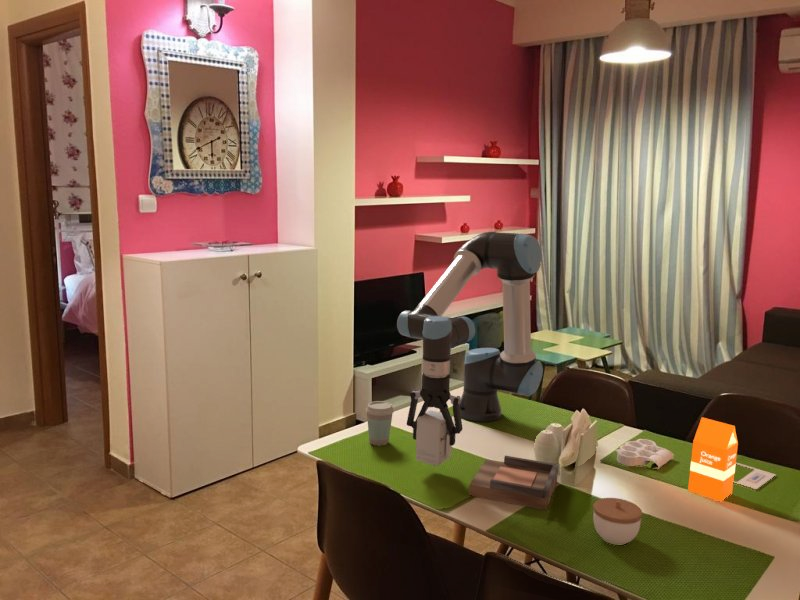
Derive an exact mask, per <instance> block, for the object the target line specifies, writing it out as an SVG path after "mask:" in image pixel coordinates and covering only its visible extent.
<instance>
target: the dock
mask: <svg viewBox="0 0 800 600" xmlns="http://www.w3.org/2000/svg"><path fill="white" fill-rule="evenodd" d="M503 459H504V461H498V460H493V459H486V458H485V460H484V461H483V463H482V465H480V468H479V469H478V470H477V472H476V474H475V475H474V477H473V478H472V480H471V482H470V483H469V484H468V485H469V486H468V487H469V489H468V496H470V495H472V496H471V497H476V498H482V499H487V500H491V501H496V502H502V503H508V504H511V505H517V506H522V507H529V508H532V509H533V508H534V509H538V510H543V509H546V510H545V511H547V510H548V507H549V505H550V501H551V499H552V497H553V494H552V493H554V491H555V489H556V485H557V483H558V472H559V471H558V470H559V464H558V463H554V462H551V463H550V462H546V461H541V460H540V461H539V460H535V459H529V458H522V457H517V456H511V455H504V458H503ZM551 496H552V497H551ZM548 504H549V505H548Z"/></svg>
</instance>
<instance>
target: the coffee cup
mask: <svg viewBox="0 0 800 600" xmlns="http://www.w3.org/2000/svg"><path fill="white" fill-rule="evenodd" d="M365 413H366V418H367V427H368V431H367V432H368V441H369V444H370V443H371V444H370V445H372V444H373V446H376V445H377V446H376V447H381V445H383V446H386V445H388V444H389V439H390V433H391V427H392V422H393V421H392V420H393V414H394V407H393V404H392V403H391V402H388V401H381V400H376V401H370V402H369V403H367V405H366V408H365ZM387 443H388V444H387Z"/></svg>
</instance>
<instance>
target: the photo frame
mask: <svg viewBox="0 0 800 600" xmlns="http://www.w3.org/2000/svg"><path fill="white" fill-rule="evenodd" d="M736 464H737V465H736V466H738V465H740V466H739V467H742V466H743V468H745V467H747V468H746V469H748V468H750V469H749V470H751V469H753V470H752V471H750V472H749V473H748V474H746V475H745V476H744V477H742V478H741V479H739V480H738V481H735V480H734V481H733V482H734V483H737V484H741V485H744V486H747V487H751V488H753V489H758V488H759V487H761V486H762V485H763V484H765V483H766V482H767V481H769V480H770V479H771V480H773V479H774V478H775V477H776V476H777V473H776V474H775V473H772V472H769V471H765V470H762V469H759V468H756V467H754V466H750V465H746V464H743V463H739V462H737V461H736ZM774 476H775V477H774ZM773 477H774V478H773ZM772 478H773V479H772ZM771 480H770V481H771ZM770 481H769V482H770ZM767 483H768V482H767ZM767 483H766V484H767ZM737 484H736V485H737ZM766 484H765V485H766ZM763 486H764V485H763ZM763 486H762V487H763ZM762 487H761V488H762ZM759 489H760V488H759ZM759 489H758V490H759Z"/></svg>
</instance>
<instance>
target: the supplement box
mask: <svg viewBox="0 0 800 600" xmlns="http://www.w3.org/2000/svg"><path fill="white" fill-rule="evenodd" d="M450 415H451V418H452V419H453V414H450ZM417 417H418V416H417ZM417 417H416V419H417V440H415V460H416V461H417V462H421V463H424V464H429V465H430V466H431V465H432V466H436V467H439V466H440V465H441V464H443V463H444V462H446V461H447V460H448V459H450V458H451V455H450V456H449V458H447V457H446V439H447V434H448V432H449V431H448V428H447V426H446V420H445V419H444V418H443V415H442V413H441V412H440V411H435V410H427V411H426V413H425V414H424V415H423V416H419V417H418V418H417Z"/></svg>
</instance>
